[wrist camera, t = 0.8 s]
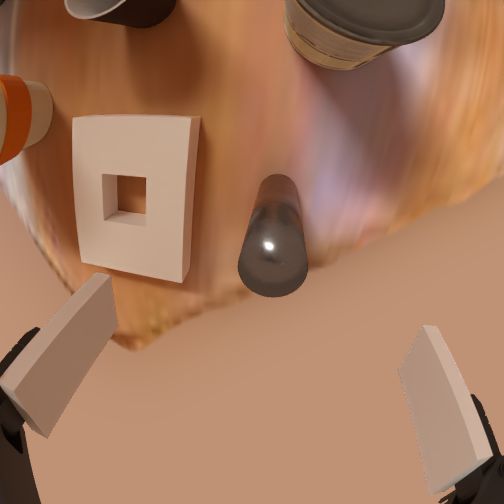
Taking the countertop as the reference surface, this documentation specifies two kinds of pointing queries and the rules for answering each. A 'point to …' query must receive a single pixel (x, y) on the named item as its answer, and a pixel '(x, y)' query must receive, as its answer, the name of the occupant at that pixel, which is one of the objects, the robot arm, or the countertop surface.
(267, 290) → the steel pin
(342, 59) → the coffee can
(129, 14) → the coffee mug
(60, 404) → the robot arm
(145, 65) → the countertop surface
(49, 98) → the reusable coffee cup
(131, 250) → the block with square hole
